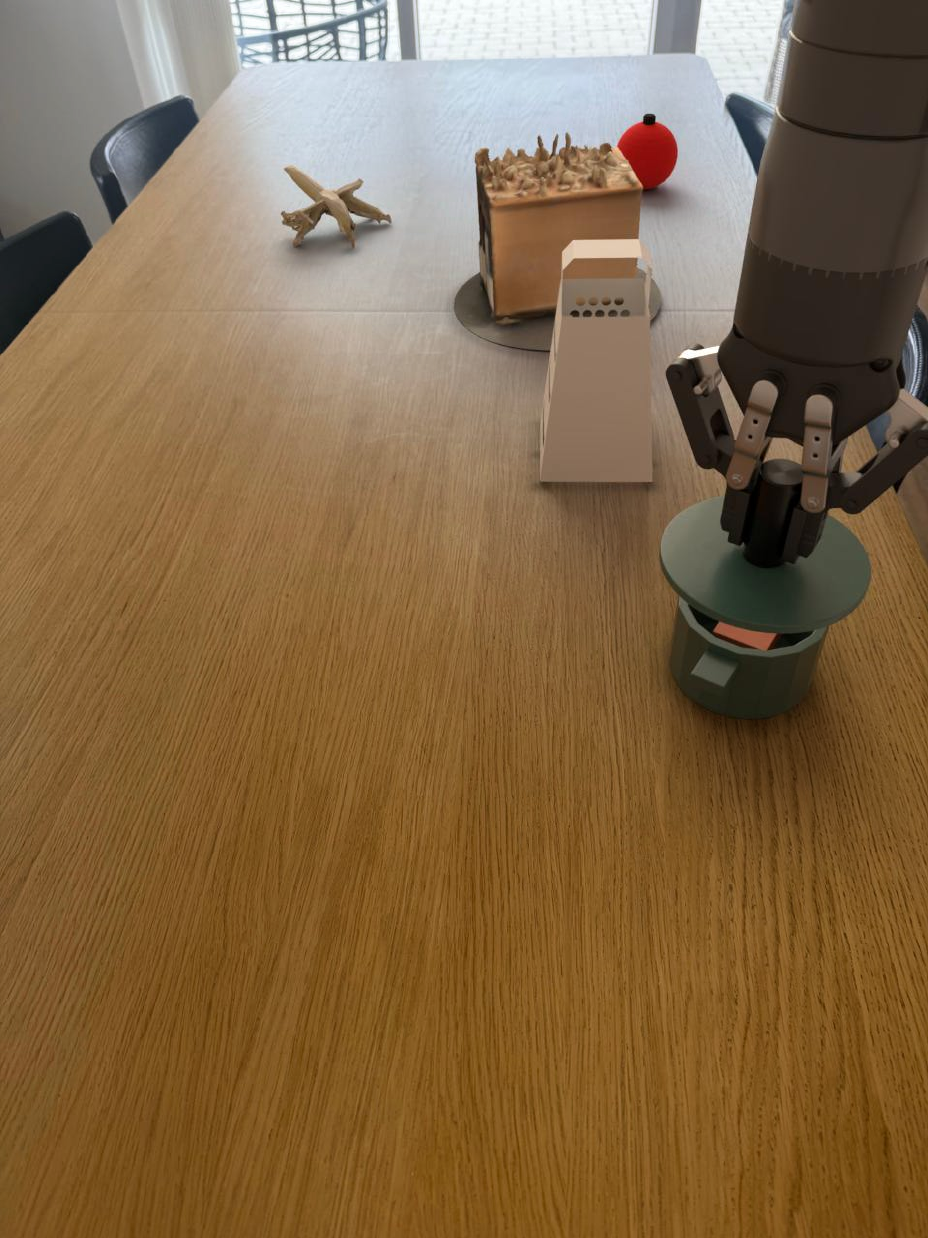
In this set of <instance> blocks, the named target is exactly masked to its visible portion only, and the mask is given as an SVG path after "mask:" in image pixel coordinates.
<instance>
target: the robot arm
mask: <svg viewBox="0 0 928 1238" xmlns="http://www.w3.org/2000/svg"><path fill="white" fill-rule="evenodd" d="M782 64H783V65H782V70H781V76H780V81H779V87H778V93H777V99H776V105H775V110H774V112H773V113H774V114H773V117H772V118H773V119H772V121H771V125H770V128H769V132H768V135H767V139H766V141H765V144H764V148H763V151H762V155H761V159H760V163H759V169H758V172H757V177H756V183H755V188H754V194H753V199H752V200H753V201H752V205H751V211H750V219H749V224H748V229H747V234H746V235H747V236H746V241H745V247H744V255H743V260H742V266H741V272H740V277H739V283H738V284H739V285H738V290H737V296H736V301H735V307H734V313H733V321H732V326H731V329H730V331H729V333H728V334H727V336H726V337H725V338H724V339H723V340H722V341H721V343H720V344H719V345H715V346H712V347H707V348H705V347H704V346H703V345H702V344H700V343H697V342H693V343H690V344H688V345H687V346H686V347H685V348H684V349H683V350H682V352H681V353H679V355H678V356H677V357H676V358H675V359H674V360H673V361H672V362H671V363H670V364H669V365H668V367H667V368H666V370H665V378H666V381H667V384H668V387H669V390H670V392H671V396H672V398H673V401H674V404H675V406H676V407H675V408H676V410H677V412H678V415H679V418H680V421H681V425H682V428H683V430H684V433H685V435H686V437H687V441H688V445H689V446H690V449H691V452H692V455H693V458H694V461H695V463H696V464H697V466H698V467H699V468H701V469H703V470H712V469H714V470H715V471H717V472H718V473H720V475H721V476H723V478H724V480H725V482H726V488H725V493H724V495H725V498H724V503H723V508H722V514H721V519H720V524H721V528H722V530H723V531H726V532H729V535H728V542H729V543H732V544H735V545H738V546H741V545H742V543H743V542H744V537H745V533H746V528H747V523H748V519H749V514H750V509H751V504H752V500H753V495H754V490H755V486H756V481H757V476H758V472H759V468H760V466H761V465H762V464H763V463H764V462H766V458H767V457H768V456H767V455H768V452H769V450H770V447H771V445H772V442H773V439H786V440H789V441H791V442H793V443H795V444H797V445H798V446H800V447H802V453H801V462H800V463H801V464H800V465H801V472H803V482H802V492H801V499H800V500H799V501H798V503H797V504H796V506H795V507H794V510H793V514H792V518H791V522H790V526H789V530H788V534H787V538H786V542H785V546H784V550H783V554H782V558H781V560H782V561H785V562H788V563H791V564H795V563H796V561H797V560H798V558H799V556H801V557H804V558H807V557H808V556H809V555H810V554H811V553H812V552H813V551H814V549H815V547H816V545H817V544H818V542H819V540H820V539H821V536H822V533H823V529H824V526H825V522H826V518H827V515H829V511H830V510H832V509H841V511H843V512H844V513H846V514H848V515H859V514H860V513H862V512H864V510H865V509H867V508H868V507H869V506H870V505H871V504H872V503H874V502H875V501H876V500H877V499H879V498H880V497H881V496H882V495H883V494H885V492H887V491H888V490H889V489H890V488H891V487H893V486H894V485H895V484H896V483H897V482H899V481H900V479H902V478H903V477H904V476H906V475H907V474H908V473H909V472H910V471H912V470H913V469H914V468H915V467H916V466H917V465H919V464H920V463H921V462H922V461H924V460H925V459H926V458H927V457H928V406H927V405H926V404H925V403H923V401H920V400H919V399H918V398H917V397H915V396H914V395H913V394H912V393H910V392H909V391H907V389H905V387H906V383H907V374H906V371H905V367H904V364H903V353H904V348H905V345H906V341H907V338H908V335H909V331H910V329H911V325H912V322H913V319H914V316H915V313H916V309H917V306H918V303H919V299H920V296H921V293H922V289H923V287H924V283H925V280H926V276H927V273H928V0H794V4H793V9H792V13H791V19H790V24H789V31H788V34H787V41H786V48H785V53H784V58H783V63H782ZM723 377H724V379H725V381H726V383H727V385H728V387H729V390H730V391H731V393H732V395H733V397H734V399H735V402H736V403H737V406H738V407H739V409H740V411H741V413H742V415H743V419H742V421H741V425H740V427H739V430H738V433H737V436H736V439H735V434H734V431H733V427H732V425H731V422H730V419H729V416H728V413H727V410H726V406H725V404H724V401H723V398H722V394H721V391H720V388H719V385H720V384H721V382H722V381H723V380H722V379H723ZM884 413H886V414H887V415H888V417H889V424H888V426H887V427H886V429H885V431H884V441H885V442H886V444H885V445H884V446H883V447H882V448H880V449H879V450H878V451H877V452H876V453H875V454H873V456H871V457H870V458H869V459H868V460H867V461H866V462H865V463H864V464H863V465H862V466H861V467H860V468H858V469H857V470H856V471H855V472H842V468H843V460H844V455H845V454H844V453H845V450H846V448H847V444H848V440H849V437H850V436H852V435H853V434H856V433H857V432H858V431H859V430H861V429H863V428H864V427H866V426H867V425H869V424H870V423H872V422H873V421H874V420H876V419H878V418H879V417H881V416H882V415H883V414H884Z"/></svg>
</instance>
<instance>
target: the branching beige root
mask: <svg viewBox="0 0 928 1238" xmlns="http://www.w3.org/2000/svg"><path fill="white" fill-rule="evenodd" d="M283 171H284V172H286V174H287V175H288V176H289V177H290V179H291V181H292V182H294V184H295V185H296V186H297V187H298V188H299V189H300V190H301V191H302V192H303V193H304V194H306V196H307V197H308V198H310V199H311V200H312V201H313V202H314V203H312V204H310V205H308V206H307V207H304V208H301V209H296V210H294V211H293V212H291V213H290V212H286V211H285V210H282V211H281V213H280V215H281V217H282V219H283V220H282V221H281V224H282V225H283V226H286V227H288V228H291V230H292V231H295V232H297V233H296V235H295V238H294V240H293V243H292V247H298V246H300V244H301V243H302V242H303V241H304V240H305V238H304V237H305V236H306V235H307V234H309V233H310V232H311V231H312V230H315V228H316V227H317V226H318V224H319V222H320V221H321V218H322V216H323V215H324V214H325V215H327V216H329V217H332V218H334V219H335V220H336V223H337V226H338V229H339V232H340V233H341V234H342V235H343V236H344V235H345V237H347V238H348V242H349V243H350V246H351V248H352V249H355V248H356V243H355V242H356V241H355V240H356V239H355V235H354V232H355V230H356V228H357V223H356V222H354V220H353V219H352V217H351V216H350V215H351V214H353V215H355V216H357V217H361V218H367V219H371V220H375V221H377V223H378V224H379V225H381V221H386V222H388V223H389V224H391V225H392V218H391V215H390V214H387V213H386V214H385V213H384V212H383V211H382V210H381V209H380V208H379V207H377V206H374V205H372V204H370V203H368V202H366V201H364V200H362V199H360V198H358V197H356V196H354V193H355V191H357V190H359V189H361V187H362V186H363V184H364V180H362V179H361V178H360V177H359V178H358V179H357V180H356V181H353V182H351V183H348V184H345V185H344V186H342V187H340V188H338V189H326V188H325V187H324V186H322V184H320V183H319V182H318V181H316V180H315V179H314V178H313V177H311V176H310V175H308V174H306V173H305V172H304V171H302V170H301V169H299V167H296V166H294V165H292V164H290V165H287V166H286V167H284V168H283Z"/></svg>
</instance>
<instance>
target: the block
mask: <svg viewBox="0 0 928 1238" xmlns="http://www.w3.org/2000/svg"><path fill="white" fill-rule="evenodd" d="M712 635H713V636H715V637H716V638H718V639H721V640H724V641H726V642H729V643H731V644H734V645H736V646H739V647H741V648H750V649H759V650H774V649H778V647H779V643H780V639H781V636H782V634H777V633H763V632H756V631H750V630H746V629H742V628H737V627H734V626H731V625H728V624H725V623H722V622H720V621H719V623H718V624H717V626H716V627H715V629H714V630H713V633H712Z"/></svg>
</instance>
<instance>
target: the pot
mask: <svg viewBox="0 0 928 1238" xmlns="http://www.w3.org/2000/svg"><path fill="white" fill-rule="evenodd" d="M677 595H678V594H677ZM674 614H675V615H674V620H673V629H672V632H671V633H672V634H671V639H670V640H671V641H670V648H669V659H668V660H669V668H670V672H671V675H672V677H673V679H674V682H675V683H676V684H677V686H678V687H679V688H680V690H681V691H682V692H683V693H684V694H685V695H686V696H687V697H688V698H690V699H691V700H692V701H693V702H695V703H696V704H698V705H700V706H701V707H703V708H705V709H706V710H709V711H711V712H713V713H716V714H719V715H721V716H722V715H723V716H726V717H728V718H729V717H730V718H736V719H744V720H760V719H768V718H771V717H772V718H773V717H776V716H778V715H781V714H784V713H786V712H788V711H790V710H791V709H793V708H795V707H796V706H798V705H799V704H800V703H801V701H802V700H804V698H805V696H806V695H807V694H808V691H809V689H810V686H811V684H812V682H813V681H814V677H815V674H816V671H817V668H818V664H819V662H820V657H821V655H822V651H823V649H824V645H825V641H826V639H827V635H828V633H829V629H830V626H831V625H829V626H827V627H824V628H821V629H817V630H813V631H808V632H801V633H787V634H782V636H781V639H780V643H779V647H778V649H774V650H759V649H750V648H741V647H739V646H736V645H734V644H731V643H729V642H726V641H724V640H721V639H718V638H716V637H715V636H713V635H712V633H713V630H714V629H715V627H716V626H717V624H718V623H719V621H718V620H715V619H713V618H711V617H709V616H707V615H705V614H703V613H701V612H700V611H698V610H696V609H695V608H694V607H692V606H691V605H689V604H688V603H687V602H686V601H684V600H683V599H682V598H681V597H680V596H679V595H678V596H677V602H676V608H675V613H674Z"/></svg>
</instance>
